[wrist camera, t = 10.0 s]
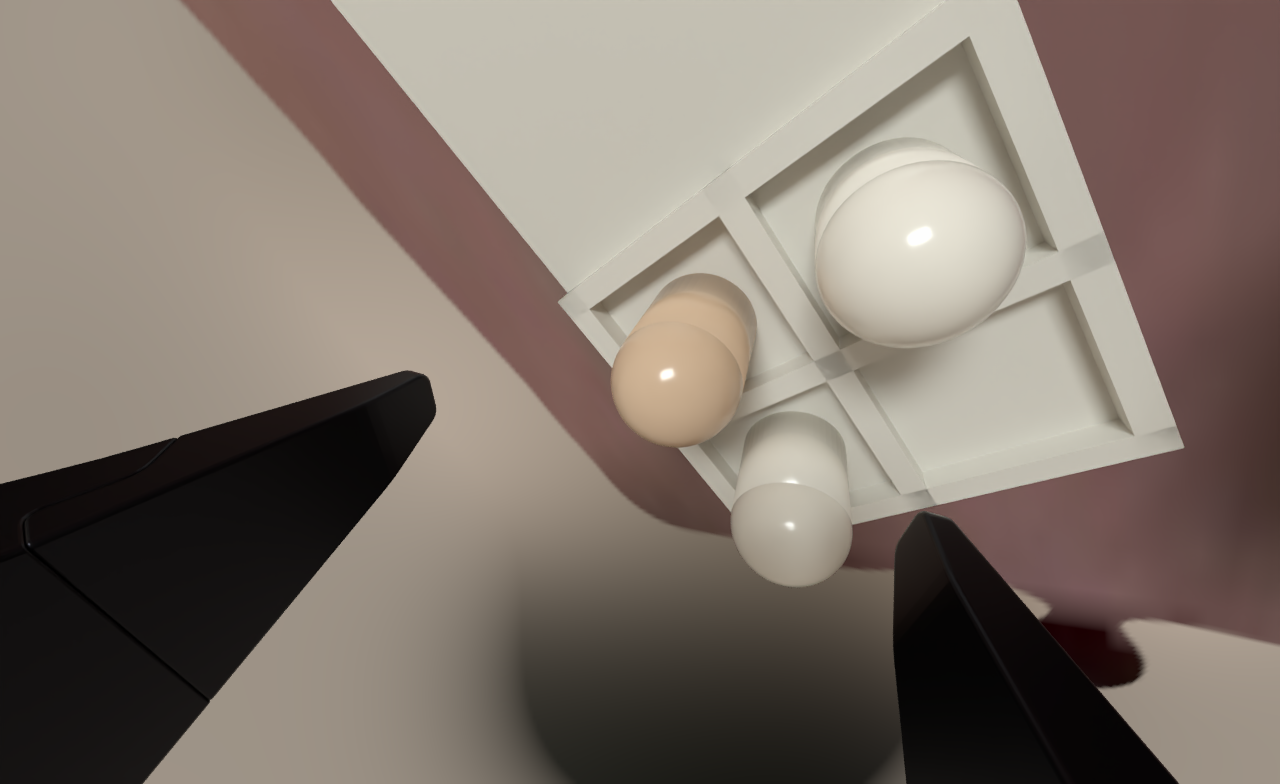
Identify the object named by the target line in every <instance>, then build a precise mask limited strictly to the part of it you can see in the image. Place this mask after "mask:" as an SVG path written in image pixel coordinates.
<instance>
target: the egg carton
mask: <svg viewBox="0 0 1280 784" xmlns="http://www.w3.org/2000/svg"><path fill="white" fill-rule="evenodd" d="M331 1H332V2H333V4H334V5H335V6H336V7H337V9H338V10H339V11H340V12H341V14H342V15H343V16H344V17H345V19H346V20H347V21H348V22H349V23H350V25H351V26H352V27H353V28H354V30H355V31H356V32H357V33H358V35H359V36H360V37H361V38H362V40H363V41H364V42H365V43H366V44H367V46H368V47H369V48H370V49H371V51H372V52H373V53H374V54H375V56H376V57H377V58H378V59H379V61H380V62H381V63H382V64H383V65H384V67H385V68H386V69H387V70H388V72H389V73H390V74H391V75H392V77H393V78H394V79H395V80H396V81H397V83H398V84H399V85H400V86H401V88H402V89H403V90H404V91H405V93H406V94H407V95H408V96H409V98H410V99H411V100H412V101H413V102H414V104H415V105H416V106H417V107H418V109H419V110H420V111H421V112H422V114H423V115H424V116H425V117H426V119H427V120H428V121H429V122H430V123H431V125H432V126H433V127H434V128H435V130H436V131H437V132H438V133H439V135H440V136H441V137H442V138H443V140H444V141H445V142H446V143H447V144H448V146H449V147H450V148H451V149H452V151H453V152H454V153H455V154H456V156H457V157H458V158H459V159H460V161H461V162H462V163H463V164H464V165H465V167H466V168H467V169H468V170H469V172H470V173H471V174H472V175H473V177H474V178H475V179H476V180H477V181H478V183H479V184H480V185H481V186H482V188H483V189H484V190H485V191H486V193H487V194H488V195H489V196H490V198H491V199H492V200H493V201H494V202H495V204H496V205H497V206H498V207H499V209H500V210H501V211H502V212H503V214H504V215H505V216H506V217H507V219H508V220H509V221H510V222H511V223H512V225H513V226H514V227H515V228H516V230H517V231H518V232H519V233H520V235H521V236H522V237H523V238H524V240H525V241H526V242H527V243H528V244H529V246H530V247H531V248H532V249H533V251H534V252H535V253H536V254H537V256H538V257H539V258H540V259H541V260H542V262H543V263H544V264H545V265H546V267H547V268H548V269H549V270H550V272H551V273H552V274H553V275H554V277H555V278H556V279H557V280H558V281H559V283H560V284H561V285H562V286H563V288H564V289H565V290H566V291H567V294H566V295H565V296H564V297H563V298H562V299H560V300H559V301H558V303H559V304H560V305H561V307H562V308H563V309H564V310H565V311H566V313H567V314H568V315H569V316H570V318H571V319H572V320H573V321H574V322H575V324H576V325H577V326H578V327H579V328H580V330H581V331H582V332H583V333H584V335H585V336H586V337H587V338H588V339H589V341H590V342H591V343H592V344H593V345H594V347H595V348H596V349H597V350H598V352H599V353H600V354H601V355H602V356H603V358H604V359H605V360H606V361H607V362H608V364H609V365H610V366H611V367H613V363H614V360H615V357H616V355H617V353H618V351H619V349H620V347H621V346H622V344H623V343H624V341H625V340H626V338H627V337H628V336H629V334H630V333H631V331H632V330H633V329H634V327H635V326H636V324H637V323H638V322H639V320H640V319H641V317H642V316H643V315H644V313H645V312H646V310H647V309H648V308H649V306H650V305H651V303H652V302H653V301H654V299H655V298H656V296H657V295H658V294H659V292H660V291H661V290H662V289H663V288H664V287H665V286H666V285H667V284H668V283H670V282H671V281H673V280H674V279H676V278H679V277H681V276H684V275H687V274H693V273H706V274H713V275H717V276H720V277H722V278H725V279H727V280H729V281H730V282H732V283H733V284H735V285H736V286H737V287H739V288H740V289H741V290H742V291H743V292H744V293H745V295H746V296H747V297H748V299H749V300H750V302H751V304H752V306H753V308H754V311H755V315H756V320H757V331H756V337H755V341H754V346H753V350H752V354H751V359H750V363H749V367H748V372H747V376H746V380H745V385H744V389H743V393H742V397H741V400H740V403H739V406H738V409H737V411H736V413H735V415H734V416H733V418H732V419H731V420H730V422H729V423H728V424H727V425H726V426H725V427H724V428H723V429H722V430H721V431H720V432H719V433H718V434H717V435H715V436H714V437H712V438H710V439H709V440H707V441H705V442H703V443H700V444H697V445H693V446H689V447H682V448H678V449H679V450H680V451H681V452H682V453H683V455H684V456H685V457H686V458H687V460H688V461H689V462H690V463H691V464H692V466H693V467H694V468H695V469H696V470H697V472H698V473H699V474H700V475H701V477H702V478H703V479H704V480H705V481H706V483H707V484H708V485H709V486H710V487H711V489H712V490H713V491H714V492H715V494H716V495H717V496H718V497H719V498H720V500H721V501H722V502H723V503H724V504H725V506H726V507H727V508H728V509H729V511H730V512H732V506H733V501H734V495H735V490H736V485H737V479H738V474H739V469H740V463H741V458H742V453H743V447H744V442H745V438H746V435H747V433H748V431H749V430H750V428H751V427H752V426H753V425H754V424H755V423H756V422H757V421H759V420H760V419H762V418H764V417H766V416H768V415H771V414H774V413H778V412H785V411H797V412H804V413H809V414H812V415H815V416H818V417H820V418H822V419H824V420H826V421H827V422H829V423H830V424H831V425H833V426H834V427H835V428H836V429H837V430H838V432H839V433H840V434H841V436H842V438H843V440H844V442H845V446H846V456H847V468H848V480H849V492H850V504H851V516H852V525H853V524H858V523H862V522H866V521H871V520H875V519H879V518H884V517H888V516H892V515H897V514H901V513H905V512H910V511H914V510H918V509H923V508H927V507H931V506H935V505H940V504H944V503H948V502H953V501H957V500H961V499H966V498H970V497H974V496H979V495H983V494H987V493H992V492H996V491H1000V490H1005V489H1009V488H1013V487H1018V486H1022V485H1026V484H1031V483H1035V482H1039V481H1044V480H1048V479H1052V478H1057V477H1061V476H1065V475H1070V474H1074V473H1078V472H1083V471H1087V470H1091V469H1095V468H1100V467H1104V466H1108V465H1113V464H1117V463H1121V462H1126V461H1130V460H1134V459H1139V458H1143V457H1147V456H1152V455H1156V454H1160V453H1165V452H1169V451H1173V450H1178V449H1182V448H1184V445H1183V442H1182V439H1181V437H1180V434H1179V431H1178V429H1177V426H1176V423H1175V421H1174V418H1173V415H1172V413H1171V410H1170V407H1169V405H1168V402H1167V399H1166V397H1165V394H1164V391H1163V389H1162V386H1161V383H1160V381H1159V378H1158V375H1157V373H1156V370H1155V367H1154V365H1153V362H1152V359H1151V357H1150V354H1149V351H1148V349H1147V346H1146V343H1145V340H1144V338H1143V335H1142V332H1141V330H1140V327H1139V324H1138V322H1137V319H1136V316H1135V314H1134V311H1133V308H1132V306H1131V303H1130V300H1129V298H1128V295H1127V292H1126V290H1125V287H1124V284H1123V282H1122V279H1121V276H1120V274H1119V271H1118V268H1117V266H1116V263H1115V260H1114V258H1113V255H1112V252H1111V250H1110V247H1109V244H1108V241H1107V239H1106V236H1105V233H1104V231H1103V228H1102V225H1101V223H1100V220H1099V217H1098V215H1097V212H1096V209H1095V207H1094V204H1093V201H1092V199H1091V196H1090V193H1089V191H1088V188H1087V185H1086V183H1085V180H1084V177H1083V175H1082V172H1081V169H1080V167H1079V164H1078V161H1077V159H1076V156H1075V153H1074V151H1073V148H1072V145H1071V143H1070V140H1069V137H1068V134H1067V132H1066V129H1065V126H1064V124H1063V121H1062V118H1061V116H1060V113H1059V110H1058V108H1057V105H1056V102H1055V100H1054V97H1053V94H1052V92H1051V89H1050V86H1049V84H1048V81H1047V78H1046V76H1045V73H1044V70H1043V68H1042V65H1041V62H1040V60H1039V57H1038V54H1037V52H1036V49H1035V46H1034V44H1033V41H1032V38H1031V35H1030V33H1029V30H1028V27H1027V25H1026V22H1025V19H1024V17H1023V14H1022V11H1021V9H1020V6H1019V3H1018V1H1017V0H331ZM903 137H915V138H922V139H927V140H930V141H933V142H936V143H938V144H940V145H942V146H944V147H946V148H947V149H949V150H951V151H952V152H954V153H956V154H957V155H959V156H961V157H962V158H964V159H966V160H968V161H969V162H971V163H973V164H974V165H976V166H978V167H979V168H981V169H983V170H984V171H986V172H988V173H989V174H991V175H992V176H993V177H995V178H996V179H997V180H999V181H1000V182H1001V183H1002V184H1003V185H1004V186H1005V187H1006V188H1007V189H1008V190H1009V192H1010V193H1011V194H1012V195H1013V197H1014V198H1015V200H1016V202H1017V203H1018V205H1019V208H1020V210H1021V213H1022V215H1023V219H1024V223H1025V228H1026V251H1025V257H1024V262H1023V266H1022V269H1021V272H1020V275H1019V277H1018V279H1017V281H1016V283H1015V285H1014V287H1013V288H1012V290H1011V291H1010V293H1009V294H1008V296H1007V297H1006V299H1005V300H1004V301H1003V302H1002V303H1001V305H1000V306H999V307H998V308H997V309H996V310H995V311H994V312H993V313H992V314H991V315H990V316H989V317H988V318H987V319H985V320H984V321H983V322H981V323H980V324H979V325H977V326H976V327H974V328H973V329H971V330H970V331H968V332H966V333H964V334H962V335H960V336H958V337H956V338H954V339H951V340H948V341H946V342H943V343H939V344H936V345H932V346H926V347H920V348H893V347H886V346H881V345H877V344H873V343H870V342H868V341H865V340H863V339H861V338H859V337H857V336H855V335H853V334H852V333H850V332H849V331H847V330H846V329H845V328H843V327H842V326H841V325H840V324H839V323H838V322H837V321H836V320H835V319H834V318H833V317H832V315H831V314H830V313H829V311H828V310H827V308H826V306H825V305H824V303H823V301H822V299H821V296H820V294H819V291H818V286H817V282H816V276H815V215H816V209H817V205H818V202H819V199H820V196H821V194H822V192H823V190H824V188H825V186H826V185H827V183H828V182H829V180H830V179H831V177H832V176H833V175H834V173H835V172H836V171H837V170H838V169H839V168H840V167H841V166H842V165H843V164H844V163H845V162H846V161H847V160H849V159H850V158H851V157H852V156H854V155H855V154H857V153H858V152H860V151H862V150H863V149H865V148H867V147H869V146H871V145H874V144H876V143H879V142H882V141H885V140H890V139H894V138H903Z"/></svg>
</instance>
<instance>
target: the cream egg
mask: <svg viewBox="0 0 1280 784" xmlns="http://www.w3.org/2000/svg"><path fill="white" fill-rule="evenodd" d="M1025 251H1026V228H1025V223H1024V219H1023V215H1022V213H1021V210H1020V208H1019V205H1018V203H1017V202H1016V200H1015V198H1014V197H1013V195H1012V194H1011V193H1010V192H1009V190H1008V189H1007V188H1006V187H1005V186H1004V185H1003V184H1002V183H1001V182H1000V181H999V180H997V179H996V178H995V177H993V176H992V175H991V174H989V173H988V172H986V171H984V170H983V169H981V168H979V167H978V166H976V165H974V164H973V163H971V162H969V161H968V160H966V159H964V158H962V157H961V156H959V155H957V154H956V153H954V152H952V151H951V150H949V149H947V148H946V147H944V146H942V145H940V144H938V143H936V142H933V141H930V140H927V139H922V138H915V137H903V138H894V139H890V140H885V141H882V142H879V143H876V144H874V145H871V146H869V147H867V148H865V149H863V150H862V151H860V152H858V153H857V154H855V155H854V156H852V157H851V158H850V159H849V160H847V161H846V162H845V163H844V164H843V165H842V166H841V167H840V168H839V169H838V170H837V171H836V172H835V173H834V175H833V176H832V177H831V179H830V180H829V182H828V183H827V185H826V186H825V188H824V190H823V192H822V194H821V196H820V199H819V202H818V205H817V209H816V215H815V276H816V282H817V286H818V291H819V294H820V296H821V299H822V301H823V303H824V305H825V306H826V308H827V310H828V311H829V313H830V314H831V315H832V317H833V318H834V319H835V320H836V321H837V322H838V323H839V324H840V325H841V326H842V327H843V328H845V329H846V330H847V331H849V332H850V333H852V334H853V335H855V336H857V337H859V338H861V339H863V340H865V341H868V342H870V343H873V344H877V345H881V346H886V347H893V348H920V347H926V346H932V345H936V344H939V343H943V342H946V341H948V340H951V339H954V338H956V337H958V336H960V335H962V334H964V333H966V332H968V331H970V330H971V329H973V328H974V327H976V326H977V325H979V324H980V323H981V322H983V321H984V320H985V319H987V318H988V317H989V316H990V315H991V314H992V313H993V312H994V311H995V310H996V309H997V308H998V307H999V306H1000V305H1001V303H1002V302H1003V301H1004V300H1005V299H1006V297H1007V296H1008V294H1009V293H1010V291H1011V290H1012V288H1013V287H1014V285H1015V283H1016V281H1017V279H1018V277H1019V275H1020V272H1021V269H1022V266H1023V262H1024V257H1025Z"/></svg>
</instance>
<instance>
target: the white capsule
mask: <svg viewBox="0 0 1280 784" xmlns="http://www.w3.org/2000/svg"><path fill="white" fill-rule="evenodd" d="M731 532H732V537H733V541H734V543H735V546H736V548H737V550H738V552H739V554H740V556H741V557H742V559H743V560H744V561H745V563H746V564H747V565H748V566H749V567H750V568H751V569H752V570H753V571H754V572H755V573H757V574H758V575H759V576H761V577H762V578H764V579H766V580H768V581H770V582H772V583H774V584H777V585H781V586H785V587H793V588H801V587H808V586H812V585H816V584H819V583H821V582H823V581H825V580H827V579H828V578H830V577H831V576H832V575H834V574H835V573H836V572H837V571H838V570H839V569H840V567H841V566H842V565H843V563H844V562H845V560H846V558H847V556H848V553H849V551H850V548H851V543H852V537H853V530H852V516H851V504H850V492H849V480H848V468H847V456H846V446H845V442H844V440H843V438H842V436H841V434H840V433H839V432H838V430H837V429H836V428H835V427H834V426H833V425H831V424H830V423H829V422H827V421H826V420H824V419H822V418H820V417H818V416H815V415H812V414H809V413H804V412H797V411H785V412H778V413H774V414H771V415H768V416H766V417H764V418H762V419H760V420H759V421H757V422H756V423H755V424H754V425H753V426H752V427H751V428H750V430H749V431H748V433H747V435H746V438H745V442H744V447H743V453H742V458H741V463H740V469H739V474H738V479H737V485H736V490H735V495H734V501H733V506H732V512H731Z"/></svg>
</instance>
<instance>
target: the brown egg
mask: <svg viewBox="0 0 1280 784" xmlns="http://www.w3.org/2000/svg"><path fill="white" fill-rule="evenodd" d="M756 331H757V320H756V315H755V311H754V308H753V306H752V304H751V302H750V300H749V299H748V297H747V296H746V295H745V293H744V292H743V291H742V290H741V289H740V288H739V287H737V286H736V285H735V284H733V283H732V282H730V281H729V280H727V279H725V278H722V277H720V276H717V275H713V274H706V273H693V274H687V275H684V276H681V277H679V278H676V279H674V280H673V281H671V282H670V283H668V284H667V285H666V286H665V287H664V288H663V289H662V290H661V291H660V292H659V294H658V295H657V296H656V298H655V299H654V301H653V302H652V303H651V305H650V306H649V308H648V309H647V310H646V312H645V313H644V315H643V316H642V317H641V319H640V320H639V322H638V323H637V324H636V326H635V327H634V329H633V330H632V331H631V333H630V334H629V336H628V337H627V338H626V340H625V341H624V343H623V344H622V346H621V347H620V349H619V351H618V353H617V355H616V357H615V360H614V363H613V367H612V372H611V391H612V396H613V400H614V403H615V406H616V408H617V410H618V412H619V414H620V416H621V418H622V419H623V421H624V422H625V423H626V424H627V425H628V426H629V427H630V428H631V429H632V430H633V431H634V432H635V433H636V434H637V435H639V436H640V437H642V438H643V439H645V440H647V441H649V442H651V443H654V444H657V445H660V446H665V447H674V448H682V447H689V446H693V445H697V444H700V443H703V442H705V441H707V440H709V439H710V438H712V437H714V436H715V435H717V434H718V433H719V432H720V431H721V430H722V429H723V428H724V427H725V426H726V425H727V424H728V423H729V422H730V420H731V419H732V418H733V416H734V415H735V413H736V411H737V409H738V406H739V403H740V400H741V397H742V393H743V389H744V385H745V380H746V376H747V372H748V367H749V363H750V359H751V354H752V350H753V346H754V341H755V337H756Z"/></svg>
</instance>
